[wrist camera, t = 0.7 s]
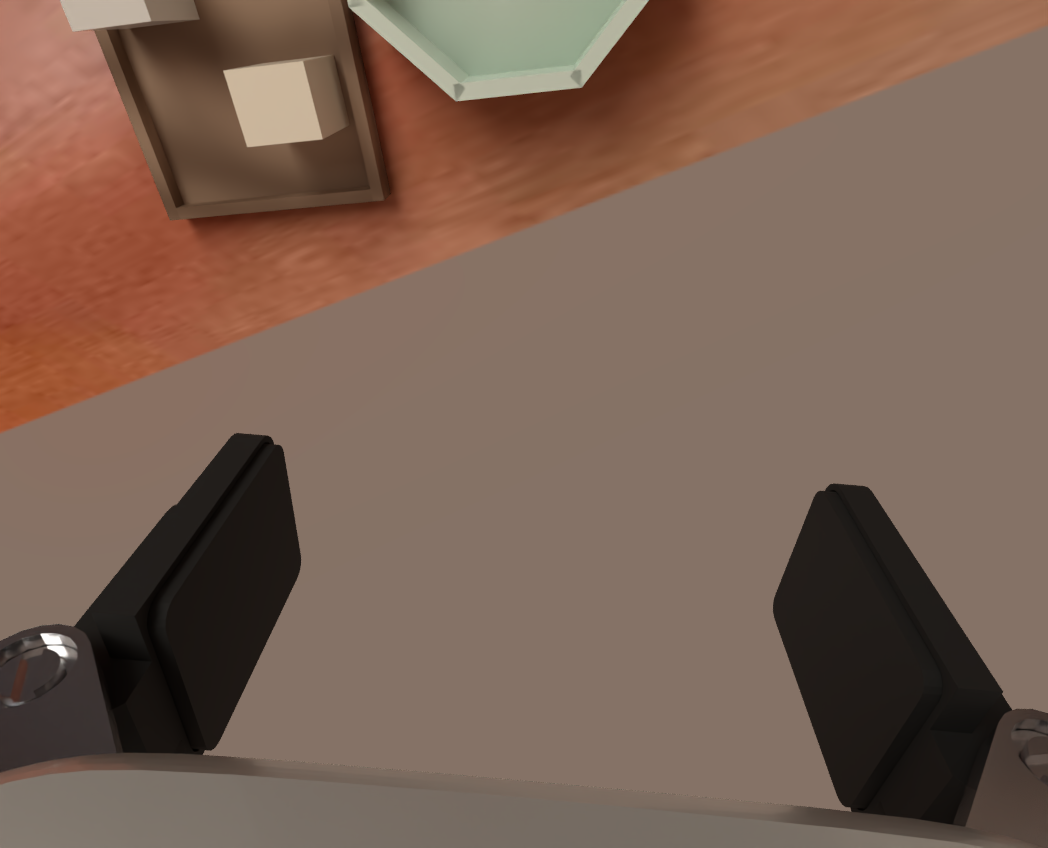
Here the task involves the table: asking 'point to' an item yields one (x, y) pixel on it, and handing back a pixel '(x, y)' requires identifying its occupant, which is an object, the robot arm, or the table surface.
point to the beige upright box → (288, 100)
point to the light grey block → (126, 13)
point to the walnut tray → (210, 117)
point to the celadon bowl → (501, 40)
